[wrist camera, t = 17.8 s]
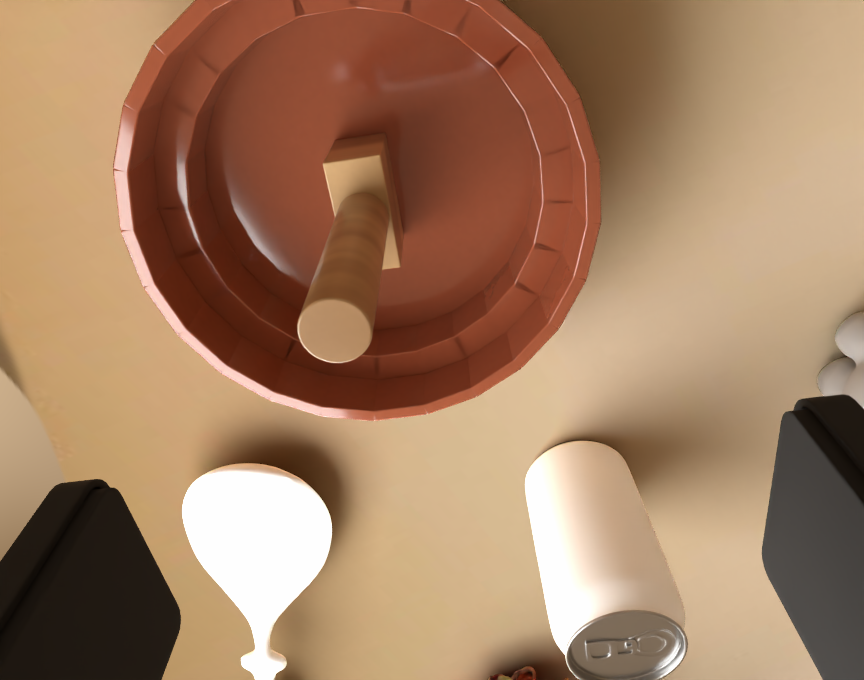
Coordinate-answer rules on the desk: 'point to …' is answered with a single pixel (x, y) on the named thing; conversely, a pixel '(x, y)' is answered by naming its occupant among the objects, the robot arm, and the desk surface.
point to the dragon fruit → (525, 675)
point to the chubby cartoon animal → (846, 362)
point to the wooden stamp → (353, 250)
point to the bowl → (311, 204)
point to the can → (602, 567)
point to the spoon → (258, 544)
